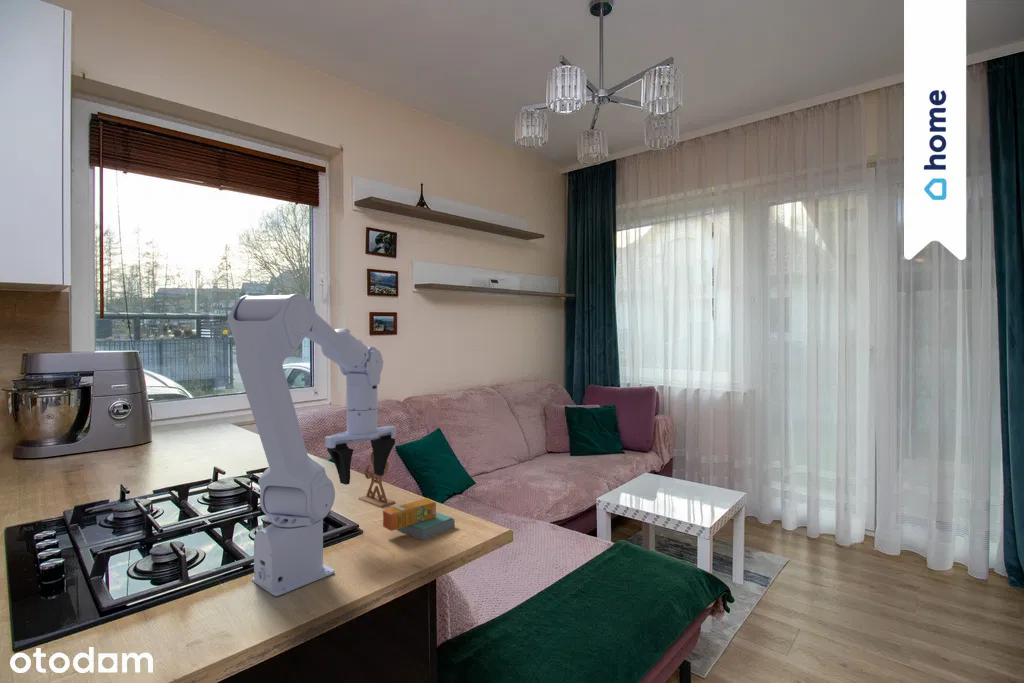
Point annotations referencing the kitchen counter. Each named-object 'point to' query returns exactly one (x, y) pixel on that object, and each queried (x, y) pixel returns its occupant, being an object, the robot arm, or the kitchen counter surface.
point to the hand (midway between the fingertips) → (362, 478)
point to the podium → (430, 527)
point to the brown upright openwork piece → (376, 488)
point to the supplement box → (409, 514)
